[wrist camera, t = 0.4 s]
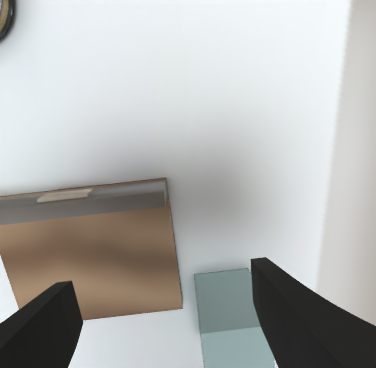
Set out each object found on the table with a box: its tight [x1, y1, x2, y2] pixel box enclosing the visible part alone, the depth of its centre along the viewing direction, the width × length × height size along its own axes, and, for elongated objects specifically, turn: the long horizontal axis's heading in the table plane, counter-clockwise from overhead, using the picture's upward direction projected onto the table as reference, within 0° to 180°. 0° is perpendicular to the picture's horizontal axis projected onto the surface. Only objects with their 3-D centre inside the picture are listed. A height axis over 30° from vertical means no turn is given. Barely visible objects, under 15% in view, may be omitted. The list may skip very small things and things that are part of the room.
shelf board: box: [0, 178, 183, 320], centre depth 19 cm, size 11×13×3 cm
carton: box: [194, 268, 274, 368], centre depth 20 cm, size 5×6×6 cm
